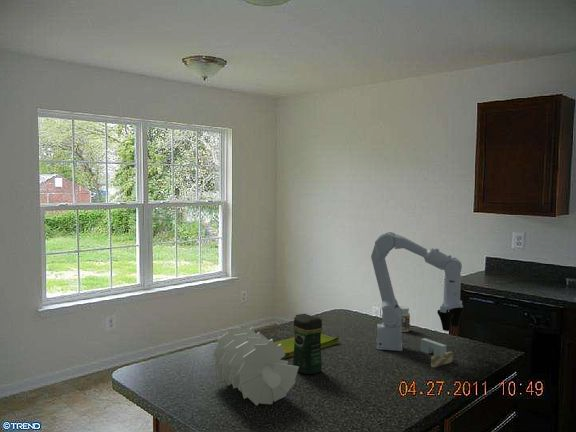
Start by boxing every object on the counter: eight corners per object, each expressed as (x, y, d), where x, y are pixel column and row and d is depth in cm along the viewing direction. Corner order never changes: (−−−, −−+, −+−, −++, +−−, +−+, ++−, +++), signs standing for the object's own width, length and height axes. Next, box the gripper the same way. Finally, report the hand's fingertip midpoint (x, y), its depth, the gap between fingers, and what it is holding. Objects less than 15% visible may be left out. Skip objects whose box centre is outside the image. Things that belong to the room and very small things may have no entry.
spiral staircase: (259, 426, 131) (221, 388, 152) (308, 387, 138) (266, 356, 160) (234, 373, 125) (199, 342, 146) (287, 336, 133) (246, 311, 154)
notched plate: (420, 350, 181) (420, 339, 181) (424, 349, 183) (424, 338, 182) (442, 358, 173) (442, 346, 173) (446, 357, 174) (446, 345, 174)
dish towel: (242, 352, 178) (242, 344, 178) (314, 335, 200) (314, 327, 200) (266, 365, 166) (266, 356, 166) (340, 345, 188) (340, 337, 188)
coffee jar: (325, 371, 159) (326, 316, 158) (307, 377, 155) (308, 320, 154) (306, 363, 167) (307, 310, 166) (288, 368, 162) (289, 313, 161)
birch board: (433, 367, 164) (433, 357, 164) (430, 366, 165) (431, 356, 165) (452, 361, 170) (452, 352, 170) (449, 360, 171) (449, 351, 171)
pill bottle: (409, 332, 204) (410, 309, 203) (395, 331, 205) (396, 308, 204) (409, 328, 209) (409, 306, 209) (395, 328, 211) (396, 305, 210)
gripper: (454, 296, 167) (452, 335, 168) (470, 290, 178) (469, 326, 178) (435, 293, 172) (433, 330, 172) (452, 287, 182) (450, 322, 183)
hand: (450, 328), depth 176 cm, fingers open, 7 cm apart
